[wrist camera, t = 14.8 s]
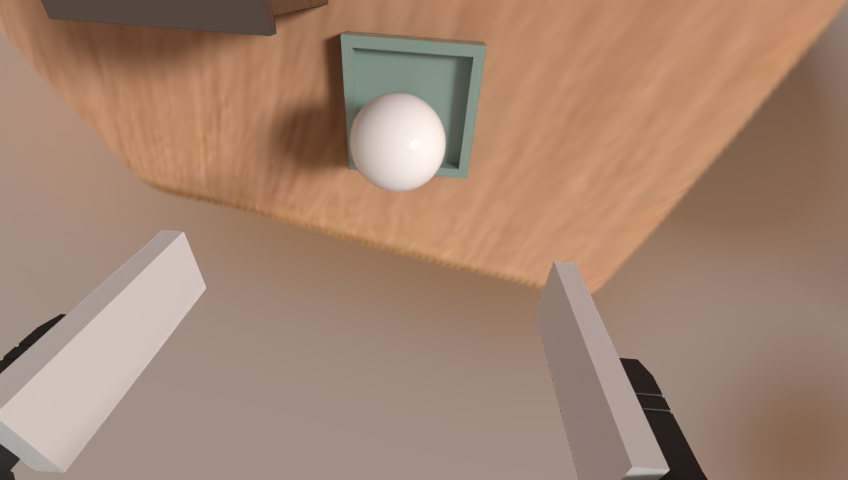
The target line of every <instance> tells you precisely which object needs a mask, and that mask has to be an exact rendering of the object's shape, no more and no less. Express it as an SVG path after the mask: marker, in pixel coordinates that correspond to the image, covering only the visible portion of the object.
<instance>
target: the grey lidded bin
mask: <svg viewBox="0 0 848 480" xmlns="http://www.w3.org/2000/svg"><path fill="white" fill-rule="evenodd" d="M41 1H42V3H43V6H44V8H45V10H46V12H47V14H48V16H49V18H50V19H63V20H75V21H88V22H100V23H113V24H126V25H138V26H151V27H163V28H176V29H189V30H201V31H214V32H227V33H239V34H252V35H264V36H271V35H274V34H277V33H276V27H275V20H274V15H278V14H283V13H288V12H292V11H297V10H301V9H306V8H311V7H315V6H320V5H324V4H328V0H41Z"/></svg>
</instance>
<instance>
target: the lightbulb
mask: <svg viewBox="0 0 848 480" xmlns="http://www.w3.org/2000/svg"><path fill="white" fill-rule="evenodd" d="M349 144H350V152H351V156H352V159H353V161H354V164H355V165H356V167H357V169H358V170H359V172H360V173H361V174H362V176H363V177H364V178H365V179H366V180H368V181H369V182H370V183H372V184H373V185H375V186H377V187H379V188H381V189H384V190H387V191H393V192H404V191H410V190H413V189H416V188H418V187H420V186H422V185H424V184H425V183H426V182H428V181H429V180H430V179H431V178H432V177H433V176H434V175H435V174H436V172H437V171H438V169H439V168H440V166H441V164H442V161H443V158H444V155H445V149H446V137H445V131H444V127H443V124H442V122H441V120H440V118H439V116H438V115H437V113H436V112H435V111H434V109H433V108H432V107H431V106H430V105H429V104H428V103H426V102H425V101H424V100H422V99H421V98H419V97H417V96H414V95H412V94H408V93H403V92H391V93H385V94H382V95H379V96H377V97H375V98H373V99H372V100H370V101H369V102H367V103H366V104H365V105H364V106H363V107H362V108H361V109H360V111H359V112H358V113H357V115H356V117H355V119H354V121H353V123H352V126H351V130H350V137H349Z"/></svg>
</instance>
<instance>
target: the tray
mask: <svg viewBox="0 0 848 480" xmlns="http://www.w3.org/2000/svg"><path fill="white" fill-rule="evenodd" d="M341 50H342V66H343V82H344V97H345V113H346V129H347V145H348V161H349V169H355V170H358V169H357V167H356V165H355V164H354V161H353V159H352V156H351V152H350V144H349V137H350V130H351V126H352V123H353V121H354V119H355V117H356V115H357V113H358V112H359V111H360V109H361V108H362V107H363V106H364V105H365V104H366V103H367V102H369V101H370V100H372V99H373V98H375V97H377V96H379V95H382V94H385V93H391V92H403V93H408V94H412V95H414V96H417V97H419V98H421V99H422V100H424V101H425V102H426V103H428V104H429V105H430V106H431V107H432V108H433V109H434V111H435V112H436V113H437V115H438V116H439V118H440V120H441V122H442V124H443V127H444V131H445V137H446V149H445V155H444V158H443V161H442V164H441V166H440V168H439V169H438V171H437V172H436V174H435V175H434V176H443V177H456V178H467V173H468V166H469V159H470V152H471V146H472V139H473V132H474V125H475V118H476V112H477V105H478V98H479V91H480V85H481V78H482V71H483V64H484V57H485V51H486V45H485V43H484V42H474V41H462V40H449V39H436V38H424V37H411V36H399V35H386V34H373V33H361V32H348V31H346V32H344V33H342V34H341Z"/></svg>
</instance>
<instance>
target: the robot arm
mask: <svg viewBox="0 0 848 480" xmlns="http://www.w3.org/2000/svg"><path fill="white" fill-rule="evenodd" d="M205 289H206V286H205V284H204V281H203V279H202V276H201V274H200V271H199V269H198V266H197V264H196V261H195V259H194V256H193V254H192V251H191V249H190V246H189V244H188V241H187V239H186V236H185V234H184V232H183V231H172V230H161V231H160V232H159V233H158V234H157V235H155V236H154V237H153V238H152V239H151V240H150V241H149V242H148V243H146V245H144V246H143V247H142V248H141V249H140V250H139V251H137V252H136V253H135V254H134V255H133V256H132V257H131V258H130V259H128V260H127V261H126V262H125V263H124V264H123V265H122V266H121V267H120V268H118V269H117V270H116V271H115V272H114V273H113V274H112V275H111V276H109V277H108V278H107V279H106V280H105V281H104V282H103V283H102V284H101V285H99V286H98V287H97V288H96V289H95V290H94V291H93V292H91V293H90V294H89V295H88V296H87V297H86V298H85V299H84V300H83V301H81V302H80V303H79V304H78V305H77V306H76V307H75V308H74V309H72V310H71V311H70V312H69V313H68V314H67V315H65V314H60V315H59V316H57V317H55V318H53V319H52V320H50V321H48V322H46V323H45V324H43V325H41V326H40V327H38V328H37V329H35V330H34V331H33V332H32V333H31V334H30V335H28V336H27V337H26V338H25V339H24V340H23V341H21V343H19V346H18V347H14V348H13V349H12V350H11V351H10V352H9V353H7V354H6V355H5V356H4V359H3V360H2V361H0V480H15V478H14V474H13V472H11V471H10V470H11V469H12V468H13V466H15V464H16V463H17V462H18V461H19V460H21V461H23V462H24V463H25V464H27V465H28V466H29V467H31V468H32V469H33V470H39V471H51V472H63V473H64V472H65V471H66V470H67V469H68V467H69V466H70V465H71V464H72V462H73V461H74V459H75V458H76V457H77V455H78V454H79V453H80V452H81V450H82V449H83V448H84V447H85V445H86V444H87V443H88V441H89V440H90V439H91V438H92V436H93V435H94V433H95V432H96V431H97V430H98V428H99V427H100V426H101V425H102V423H103V422H104V421H105V419H106V418H107V417H108V415H109V414H110V413H111V411H112V410H113V409H114V408H115V406H116V405H117V404H118V402H119V401H120V400H121V398H122V397H123V396H124V395H125V393H126V392H127V391H128V389H129V388H130V387H131V385H132V384H133V383H134V381H135V380H136V379H137V378H138V376H139V375H140V374H141V372H142V371H143V370H144V368H145V367H146V366H147V365H148V363H149V362H150V361H151V359H152V358H153V357H154V355H155V354H156V353H157V352H158V350H159V349H160V348H161V346H162V345H163V344H164V342H165V341H166V340H167V338H168V337H169V336H170V334H171V333H172V332H173V331H174V329H175V328H176V327H177V326H178V324H179V323H180V322H181V320H182V319H183V317H184V316H185V315H186V314H187V312H188V311H189V310H190V308H191V307H192V306H193V305H194V303H195V302H196V301H197V299H198V298H199V297H200V296H201V294H202V293H203V292H204V290H205ZM535 317H536V321H537V325H538V328H539V332H540V336H541V340H542V343H543V347H544V351H545V355H546V359H547V362H548V366H549V370H550V374H551V377H552V381H553V385H554V389H555V393H556V396H557V400H558V404H559V408H560V412H561V415H562V419H563V423H564V427H565V430H566V434H567V438H568V442H569V445H570V449H571V453H572V457H573V460H574V464H575V468H576V472H577V476H578V479H579V480H708V479H707V478H706V476H705V475H704V473H703V472H702V470H701V468H700V466H699V464H698V462H697V460H696V458H695V456H694V454H693V452H692V450H691V448H690V447H689V445H688V443H687V441H686V439H685V437H684V435H683V433H682V431H681V429H680V427H679V425H678V424H677V422H676V420H675V418H674V416H673V414H671V413H670V408H669V406H668V404H667V402H666V400H665V398H663V397H662V393H661V391H660V389H659V387H658V385H657V383H656V381H655V379H654V377H653V376H652V375H651V374H650V372H649V371H648V370H647V369H646V368H645V367H644V366H643V365H642V364H641V363H640V362H639V361H638V360H637V359H625V358H618V355H617V353H616V351H615V348H614V346H613V344H612V342H611V340H610V337H609V335H608V333H607V331H606V329H605V327H604V324H603V322H602V320H601V318H600V316H599V313H598V311H597V309H596V307H595V304H594V302H593V300H592V298H591V296H590V293H589V291H588V289H587V287H586V285H585V283H584V280H583V278H582V276H581V274H580V272H579V269H578V267H577V265H576V263H573V262H560V261H554V262H553V265H552V268H551V270H550V273H549V276H548V279H547V282H546V284H545V287H544V290H543V293H542V296H541V298H540V301H539V304H538V307H537V309H536V312H535Z"/></svg>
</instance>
